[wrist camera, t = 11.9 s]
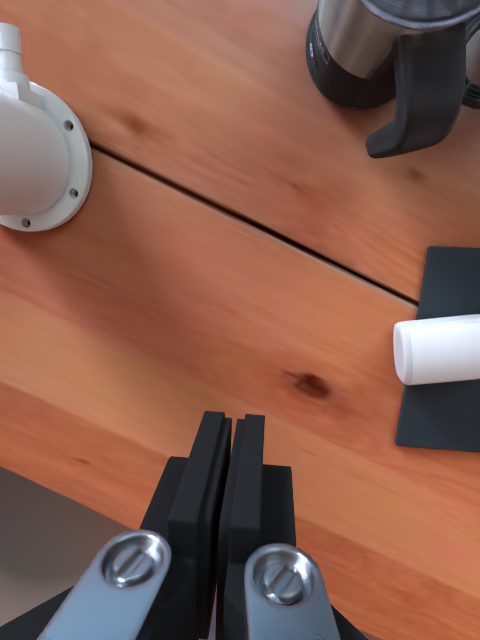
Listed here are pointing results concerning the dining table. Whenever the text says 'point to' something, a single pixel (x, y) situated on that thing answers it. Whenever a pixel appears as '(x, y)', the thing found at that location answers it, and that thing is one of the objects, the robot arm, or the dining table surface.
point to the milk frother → (396, 64)
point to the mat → (447, 397)
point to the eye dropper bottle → (437, 349)
